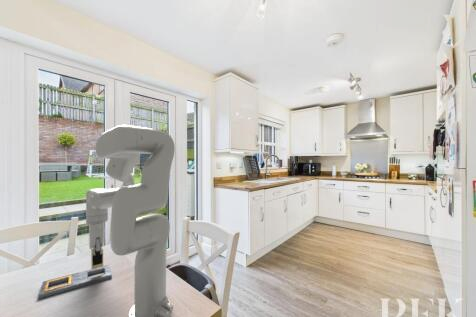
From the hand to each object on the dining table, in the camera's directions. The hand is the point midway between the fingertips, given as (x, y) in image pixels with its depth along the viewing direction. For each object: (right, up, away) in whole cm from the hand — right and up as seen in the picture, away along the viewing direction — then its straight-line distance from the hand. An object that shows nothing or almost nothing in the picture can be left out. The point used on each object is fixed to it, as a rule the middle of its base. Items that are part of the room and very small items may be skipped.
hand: (97, 261), depth 86 cm
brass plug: (0, -2, 0) cm, 2 cm away
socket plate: (-5, -6, -3) cm, 9 cm away
